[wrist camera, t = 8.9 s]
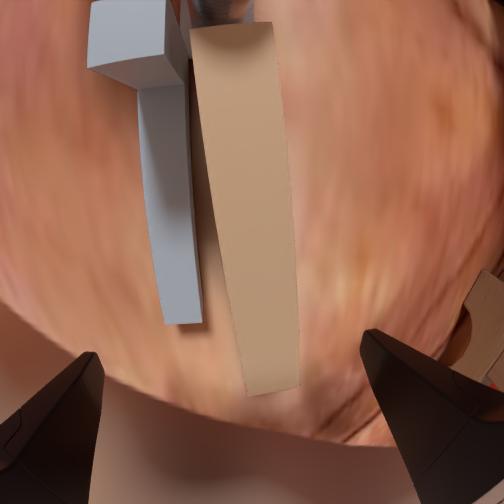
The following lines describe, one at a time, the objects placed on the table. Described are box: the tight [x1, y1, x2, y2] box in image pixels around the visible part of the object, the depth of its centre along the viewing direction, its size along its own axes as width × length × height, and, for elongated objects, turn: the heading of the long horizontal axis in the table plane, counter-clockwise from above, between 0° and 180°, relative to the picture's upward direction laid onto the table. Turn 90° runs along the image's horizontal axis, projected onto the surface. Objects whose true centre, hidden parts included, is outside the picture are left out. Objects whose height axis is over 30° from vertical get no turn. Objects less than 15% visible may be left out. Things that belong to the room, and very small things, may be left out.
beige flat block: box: [190, 22, 300, 397], centre depth 12 cm, size 13×2×7 cm, turn 8°
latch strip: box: [87, 0, 203, 325], centre depth 11 cm, size 2×14×8 cm, turn 2°
